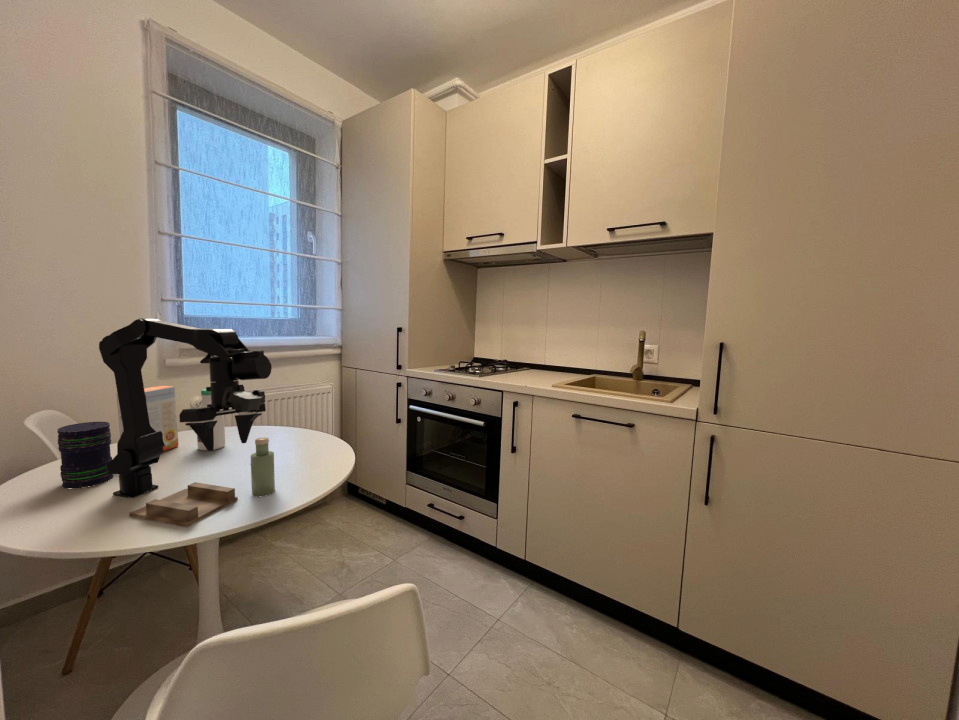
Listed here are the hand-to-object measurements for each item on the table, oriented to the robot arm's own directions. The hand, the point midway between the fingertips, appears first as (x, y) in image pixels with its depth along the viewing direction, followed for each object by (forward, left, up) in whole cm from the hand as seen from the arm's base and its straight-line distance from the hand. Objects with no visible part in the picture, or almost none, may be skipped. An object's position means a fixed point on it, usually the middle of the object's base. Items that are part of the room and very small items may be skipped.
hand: (228, 447), depth 93 cm
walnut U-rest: (-9, -5, -14) cm, 17 cm away
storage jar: (-45, -1, -14) cm, 47 cm away
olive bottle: (+3, +7, -14) cm, 16 cm away
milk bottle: (-39, +30, -14) cm, 51 cm away
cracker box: (-52, +20, -14) cm, 58 cm away
